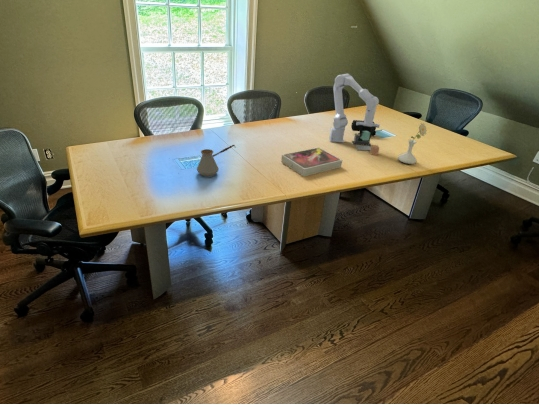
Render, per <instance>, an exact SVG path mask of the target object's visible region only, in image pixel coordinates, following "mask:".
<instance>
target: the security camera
mask: <svg viewBox="0 0 539 405" xmlns="http://www.w3.org/2000/svg"><path fill="white" fill-rule="evenodd" d="M356 122H364V120H357V119H353V120H352V122H351V125H350V126H351V128H350V129H351V130H352V132H358V133H357V134H360V130H359V125H356ZM373 123H375V122H374V121H373ZM362 131H368V132H371V127H369V126H363V129H362ZM376 133H377V131H376V130H375V131H374V132H373V134H372V136H371V137H375V136H376V135H377V134H376Z"/></svg>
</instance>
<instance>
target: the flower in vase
mask: <svg viewBox="0 0 539 405" xmlns="http://www.w3.org/2000/svg"><path fill="white" fill-rule="evenodd" d="M427 131H428V130H427V125H425V123H424V122H423V123H422V122H421V123H420V124H419V125H418V132H417V133H416V135H414V137H413V135H411V136H410V139H408V140H407V142H408V149H407V151H406V152H404V153H402V154H399V155H398V157H397V160H398V161H399V162H401V163H403V164H406V165H407V164H408V165H413V164H415V163H417V158H416V157H415V155H414V154H413V152H412V151H413V148H414V145H415V144H416V143H417V140H415V139H416V138H417V139H418V140H419V139H421V138H422V137H425V136H426V134H427ZM421 136H422V137H421Z"/></svg>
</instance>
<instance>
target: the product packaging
mask: <svg viewBox="0 0 539 405" xmlns="http://www.w3.org/2000/svg"><path fill="white" fill-rule="evenodd" d="M280 162H281V163H282V164H284V165H285V166H287V167H289V168H290V169H291V170H293V172H296V173H297V174H299V175H300V176H302V178H303V177H307V176H310V175H315V174H319V173H324V172H327V171H332V170H334V169H335V170H336V169H339V168H342V163H343V160H342V159H341V158H339V157H337V156H336V155H334V154H332V153H330V152H329V151H326V150H325V149H323V148H321V147H318V146H317V147H313V148H309V149H304V150H298V151H294V152H289V153H283V154H281V160H280Z"/></svg>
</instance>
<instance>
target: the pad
mask: <svg viewBox="0 0 539 405" xmlns="http://www.w3.org/2000/svg"><path fill="white" fill-rule="evenodd" d="M354 146H355V148H356V150H357V151H362V152H363V151H365V152H370V150H371V146H368V145H354Z"/></svg>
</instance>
